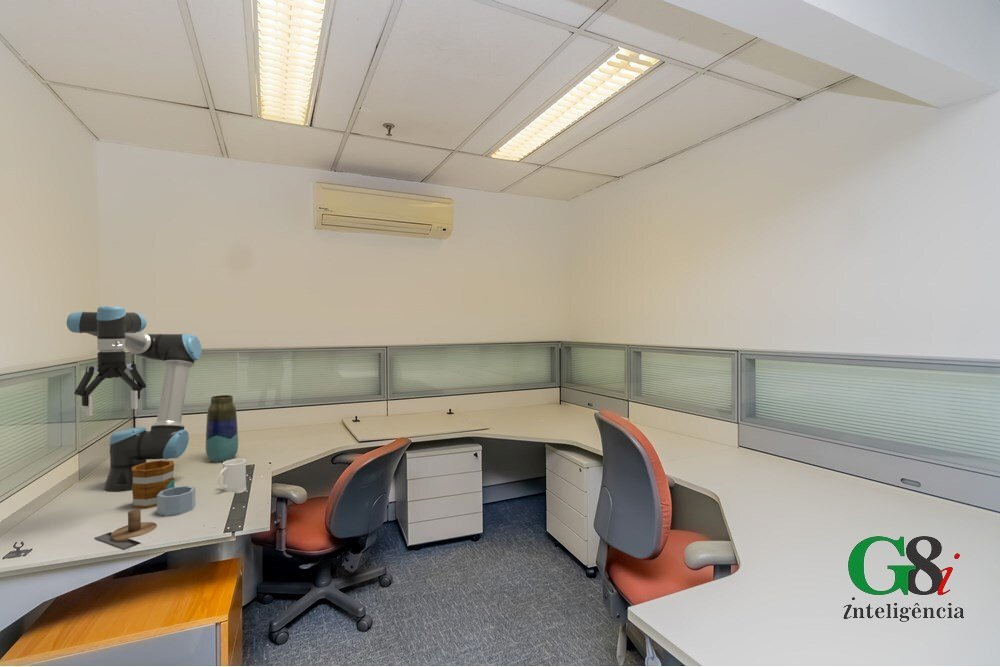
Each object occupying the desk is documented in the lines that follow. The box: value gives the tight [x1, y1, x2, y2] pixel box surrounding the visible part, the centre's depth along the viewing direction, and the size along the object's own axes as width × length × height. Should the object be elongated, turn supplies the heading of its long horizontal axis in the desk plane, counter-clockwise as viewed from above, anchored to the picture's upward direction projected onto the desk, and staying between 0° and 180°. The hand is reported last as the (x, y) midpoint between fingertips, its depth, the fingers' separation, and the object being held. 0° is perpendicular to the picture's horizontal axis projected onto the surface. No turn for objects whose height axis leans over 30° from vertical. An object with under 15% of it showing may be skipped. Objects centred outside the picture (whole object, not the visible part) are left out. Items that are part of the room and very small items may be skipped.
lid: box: [111, 508, 158, 542], centre depth 151 cm, size 12×12×7 cm
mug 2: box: [217, 458, 247, 494], centre depth 188 cm, size 12×8×12 cm
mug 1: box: [131, 459, 175, 509], centre depth 177 cm, size 20×14×15 cm
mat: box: [94, 531, 141, 551], centre depth 151 cm, size 16×14×1 cm
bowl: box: [156, 485, 197, 517], centre depth 167 cm, size 10×10×8 cm
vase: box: [205, 394, 239, 463], centre depth 231 cm, size 14×14×31 cm
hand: (112, 412), depth 163 cm, fingers open, 13 cm apart
